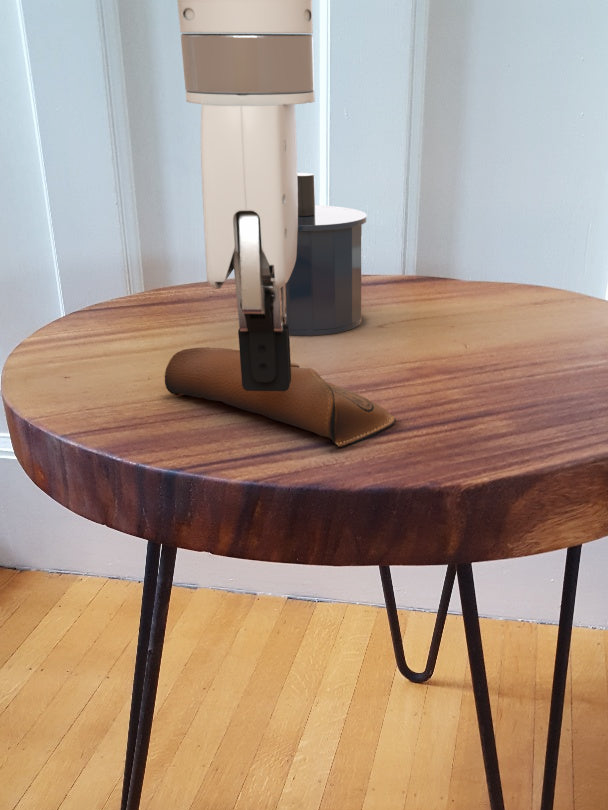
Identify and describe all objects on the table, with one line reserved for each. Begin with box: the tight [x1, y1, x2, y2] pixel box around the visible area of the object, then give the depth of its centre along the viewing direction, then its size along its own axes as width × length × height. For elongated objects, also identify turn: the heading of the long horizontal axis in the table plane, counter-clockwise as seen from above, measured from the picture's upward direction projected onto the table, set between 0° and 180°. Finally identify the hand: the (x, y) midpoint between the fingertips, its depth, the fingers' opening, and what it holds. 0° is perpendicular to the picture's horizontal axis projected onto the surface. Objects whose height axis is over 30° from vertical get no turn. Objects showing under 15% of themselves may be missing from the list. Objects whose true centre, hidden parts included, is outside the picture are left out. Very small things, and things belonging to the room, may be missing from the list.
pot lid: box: [297, 172, 368, 231], centre depth 92 cm, size 12×12×5 cm
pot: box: [283, 224, 363, 337], centre depth 95 cm, size 11×11×10 cm
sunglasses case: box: [164, 346, 397, 448], centre depth 74 cm, size 18×7×7 cm, turn 51°
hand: (267, 386), depth 65 cm, fingers closed
